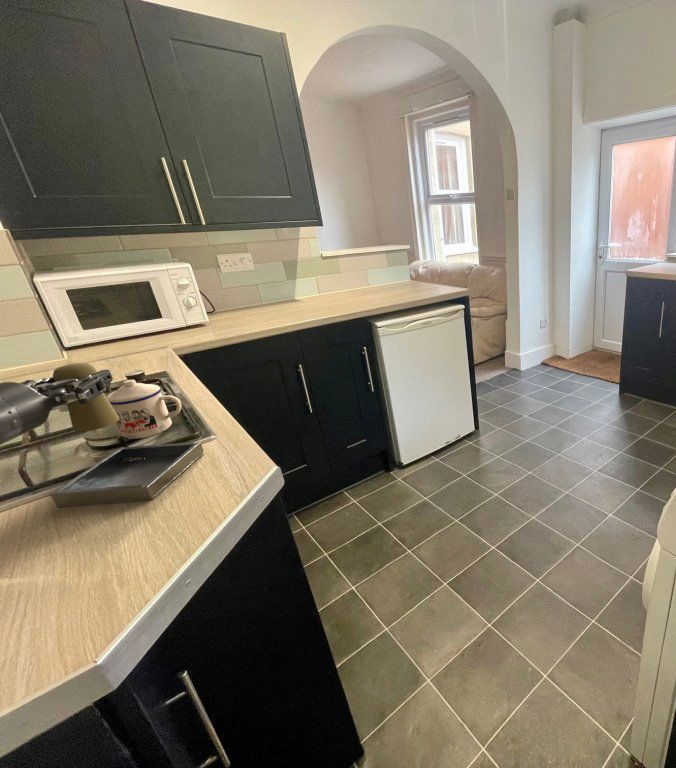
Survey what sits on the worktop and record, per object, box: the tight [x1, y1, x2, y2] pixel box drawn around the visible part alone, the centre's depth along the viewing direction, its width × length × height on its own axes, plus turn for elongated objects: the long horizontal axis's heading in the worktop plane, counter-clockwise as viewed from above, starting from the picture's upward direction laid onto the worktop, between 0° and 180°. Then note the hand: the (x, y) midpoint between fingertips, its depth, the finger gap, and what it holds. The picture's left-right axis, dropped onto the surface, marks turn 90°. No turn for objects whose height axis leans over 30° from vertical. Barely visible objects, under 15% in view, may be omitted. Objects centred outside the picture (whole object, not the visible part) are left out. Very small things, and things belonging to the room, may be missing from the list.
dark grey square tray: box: [49, 441, 205, 508], centre depth 74 cm, size 15×15×3 cm
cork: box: [52, 362, 119, 433], centre depth 72 cm, size 6×6×11 cm
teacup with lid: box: [106, 379, 182, 440], centre depth 90 cm, size 12×9×12 cm
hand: (90, 375), depth 73 cm, fingers closed on cork, 5 cm apart
